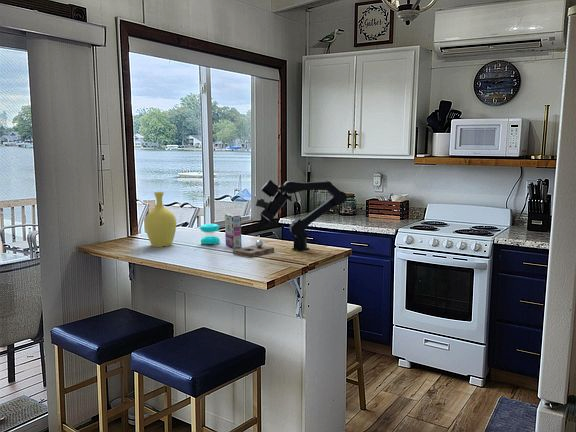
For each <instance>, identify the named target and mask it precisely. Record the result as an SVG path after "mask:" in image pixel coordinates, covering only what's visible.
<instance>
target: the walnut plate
mask: <svg viewBox="0 0 576 432" xmlns="http://www.w3.org/2000/svg"><path fill="white" fill-rule="evenodd" d="M274 252H275V247H273V246H267V245H262V247H257V246H256V244H253V245H249V246H245V247H241V248H234V249H232V255H234V256H239V257H240V256H241V257H246V258H249V259H250V258H254V257H258V256H262V255H267V254H270V253H274Z"/></svg>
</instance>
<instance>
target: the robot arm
mask: <svg viewBox="0 0 576 432" xmlns="http://www.w3.org/2000/svg"><path fill="white" fill-rule="evenodd" d="M315 190H316V191H318V190H319V191H320V190H326V191H327V192H328V193H329V194H330V196H329V197H328V198H327V199H326V200H325V202H324V203H322V204H320V205H319V206H318V207H317V208H315V209H314V210H312V211H310V213H308V214H307V215H305V216H304V217H301V218H300V217H299V216H297V217H296V218H295V219H294V220H292V221H291V223H290V224H289V226H288V227H289V231H290V232H291V234H292V235H293V236H294V237H293V247H292V248H291V250H293V251H299V252H303V251H306V250H309V249H310V247H308V241H307V239H308V233H307V232H306V229H307V228H308V226H309V225H310V224H312V223H313V222H314V221H316V220H317V219H318V218H320V217H321V216H322V215H324V214H326V213H327V212H328V211H329V210H331V209H333V208H335V207H338V206H341V204H343V203H345V202H346V201H347V198H348V197H347V194H346V192H344V191H342V190H340V189H338V187H336V186H335V185H334V184H333V183H332V182H331V181H329V180H324V181H308V182H307V181H305V182H302V181H301V182H299V181H292V180H287V181H285V182H284V183H283V184H279V185H277V184H276V183H274V181H273V180H271V179H270V178H269V179H268V181H266V183H264V184H263V186H262V187H261V189H260V191H262V193H263V194H265V195H266V196H267V197H269V198H271V197H273V199H272V200H270V201H269V202H267V201H265V199H263V198H260V199H257V201H256V204H255V207H260V208H264V209H263V210H262V211H261V212H260V214H259V215H260V220H259V222H258V224H257V226H256V230H257V231H258V230H260V229H262V228H263V227H265V226H267V225H268V224H270V223H271V222H273V220H274V219H275V217H276V215H277V214H278V213H279V211H280V210H281V208H282V207H283V206H284V205H285V204H286V202H287V201H290V202H292V201H293V199H292V195H290V194H296V193H299V192H302V191H303V192H304V191H315ZM288 194H289V195H288Z"/></svg>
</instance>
